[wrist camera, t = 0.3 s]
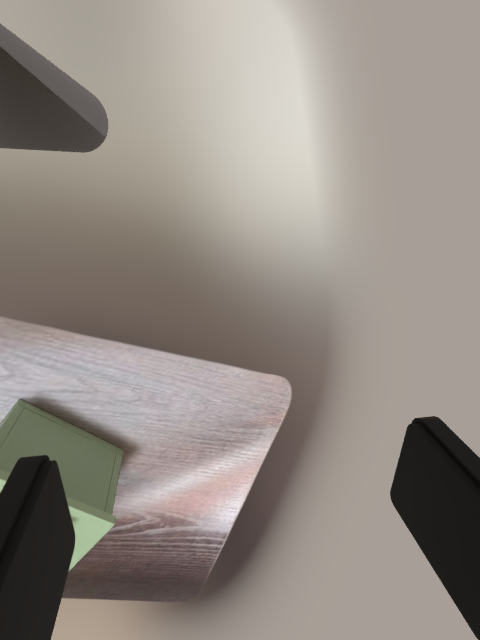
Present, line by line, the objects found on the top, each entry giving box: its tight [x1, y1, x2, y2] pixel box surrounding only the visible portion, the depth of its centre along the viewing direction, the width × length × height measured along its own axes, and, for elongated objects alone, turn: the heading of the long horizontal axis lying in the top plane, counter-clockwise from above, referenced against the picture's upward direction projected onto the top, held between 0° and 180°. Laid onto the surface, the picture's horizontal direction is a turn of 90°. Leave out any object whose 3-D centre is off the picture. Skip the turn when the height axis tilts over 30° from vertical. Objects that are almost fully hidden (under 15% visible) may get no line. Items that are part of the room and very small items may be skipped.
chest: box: [0, 399, 123, 515], centre depth 36 cm, size 14×12×9 cm
